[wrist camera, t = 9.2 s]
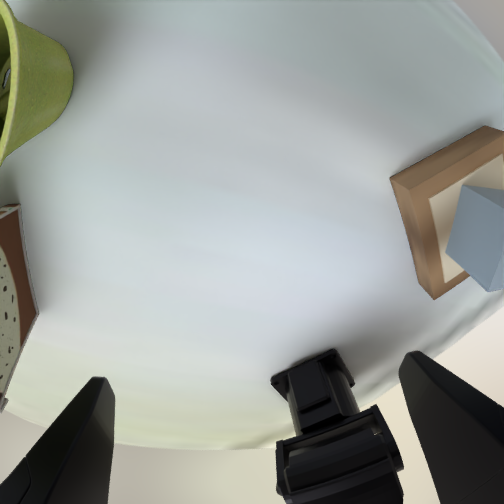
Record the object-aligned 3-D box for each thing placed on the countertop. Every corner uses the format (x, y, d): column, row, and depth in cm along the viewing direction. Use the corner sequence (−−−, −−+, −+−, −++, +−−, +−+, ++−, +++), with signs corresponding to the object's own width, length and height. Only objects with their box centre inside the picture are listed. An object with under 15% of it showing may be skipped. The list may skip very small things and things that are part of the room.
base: (498, 228, 23) (517, 241, 20) (418, 282, 24) (434, 301, 22) (484, 125, 18) (508, 133, 16) (389, 178, 19) (410, 191, 17)
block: (503, 190, 18) (550, 217, 13) (487, 249, 20) (527, 283, 16) (461, 184, 17) (514, 215, 13) (444, 252, 20) (487, 292, 15)
